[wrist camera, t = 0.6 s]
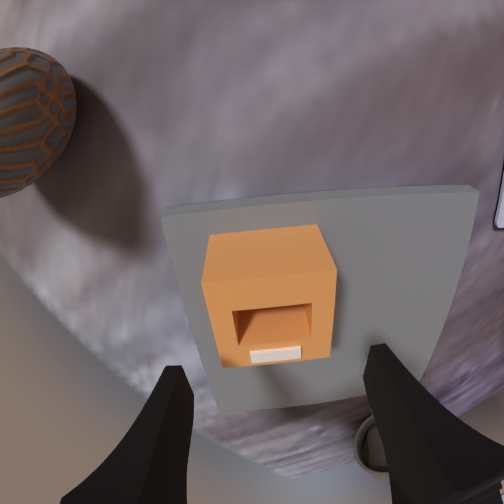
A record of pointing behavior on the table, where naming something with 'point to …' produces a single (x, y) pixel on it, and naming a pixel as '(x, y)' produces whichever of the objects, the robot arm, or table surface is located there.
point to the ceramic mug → (371, 450)
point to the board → (337, 282)
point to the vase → (32, 115)
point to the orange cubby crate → (270, 295)
